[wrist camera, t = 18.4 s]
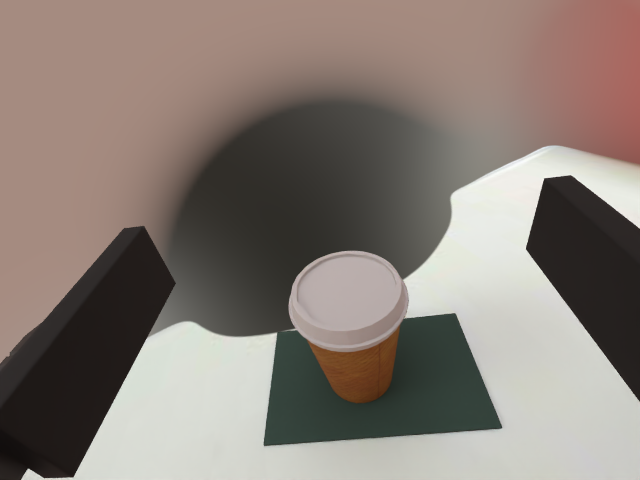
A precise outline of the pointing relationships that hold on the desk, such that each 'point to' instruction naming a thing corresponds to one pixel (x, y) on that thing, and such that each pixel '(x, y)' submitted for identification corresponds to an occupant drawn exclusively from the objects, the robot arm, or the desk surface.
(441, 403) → the desk mat
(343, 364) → the disposable coffee cup
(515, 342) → the desk surface
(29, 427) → the robot arm
